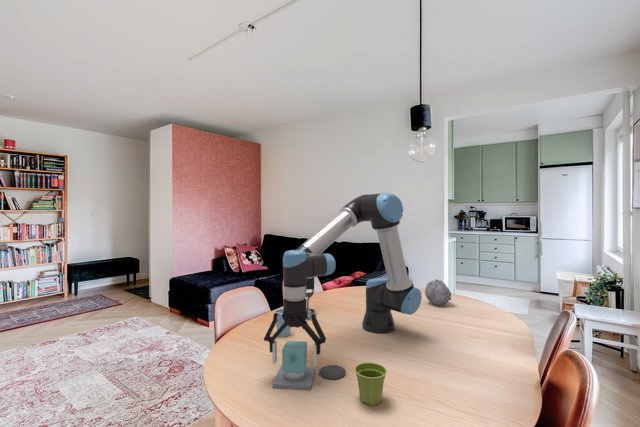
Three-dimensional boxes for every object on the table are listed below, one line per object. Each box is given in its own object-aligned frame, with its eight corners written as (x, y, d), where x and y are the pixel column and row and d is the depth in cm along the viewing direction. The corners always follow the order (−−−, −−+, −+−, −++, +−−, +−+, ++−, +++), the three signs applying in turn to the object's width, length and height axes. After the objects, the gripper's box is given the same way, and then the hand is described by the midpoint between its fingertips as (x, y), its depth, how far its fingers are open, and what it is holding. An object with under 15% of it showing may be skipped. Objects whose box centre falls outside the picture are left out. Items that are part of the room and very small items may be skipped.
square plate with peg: (315, 370, 109) (315, 344, 109) (310, 390, 97) (310, 360, 97) (281, 368, 110) (281, 343, 110) (272, 387, 98) (272, 358, 98)
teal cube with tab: (286, 361, 108) (286, 340, 108) (307, 362, 107) (307, 341, 107) (280, 374, 99) (280, 351, 99) (303, 375, 98) (303, 352, 98)
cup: (294, 336, 140) (294, 312, 140) (277, 339, 137) (277, 314, 137) (289, 330, 147) (289, 308, 147) (273, 333, 144) (272, 310, 144)
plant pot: (351, 391, 97) (351, 362, 97) (381, 389, 97) (381, 361, 97) (357, 410, 87) (357, 378, 87) (391, 408, 88) (391, 376, 88)
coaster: (346, 367, 111) (346, 365, 111) (345, 380, 102) (345, 378, 102) (320, 366, 112) (320, 364, 112) (317, 379, 103) (317, 377, 103)
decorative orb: (455, 308, 180) (455, 282, 180) (429, 308, 180) (429, 282, 180) (445, 301, 194) (445, 277, 194) (421, 301, 195) (421, 277, 195)
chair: (315, 310, 177) (315, 271, 177) (308, 320, 160) (308, 277, 160) (293, 309, 179) (293, 270, 179) (284, 319, 162) (284, 276, 162)
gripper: (333, 296, 106) (333, 359, 106) (261, 294, 109) (261, 355, 109) (332, 302, 99) (332, 370, 99) (254, 300, 101) (254, 366, 101)
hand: (295, 362), depth 104 cm, fingers open, 13 cm apart
